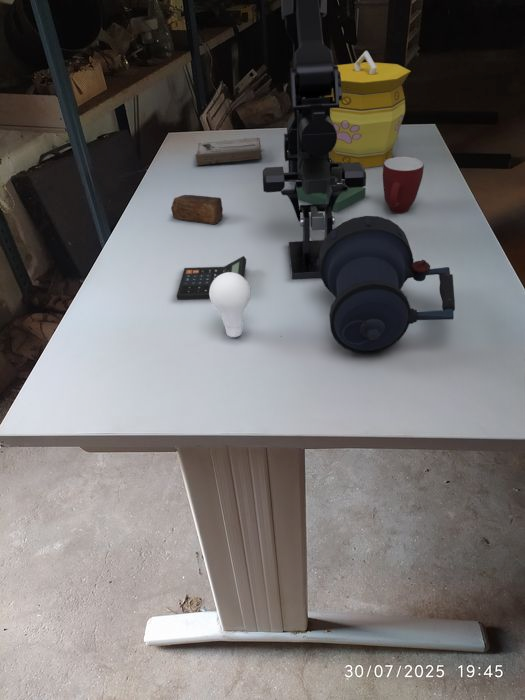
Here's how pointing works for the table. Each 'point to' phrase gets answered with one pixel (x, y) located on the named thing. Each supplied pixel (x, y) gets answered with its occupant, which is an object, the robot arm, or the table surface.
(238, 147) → the box
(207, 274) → the calculator
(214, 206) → the brick
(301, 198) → the button block
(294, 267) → the bracket
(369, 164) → the container
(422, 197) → the table surface
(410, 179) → the mug
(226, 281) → the lightbulb
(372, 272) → the flashlight
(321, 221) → the lever
